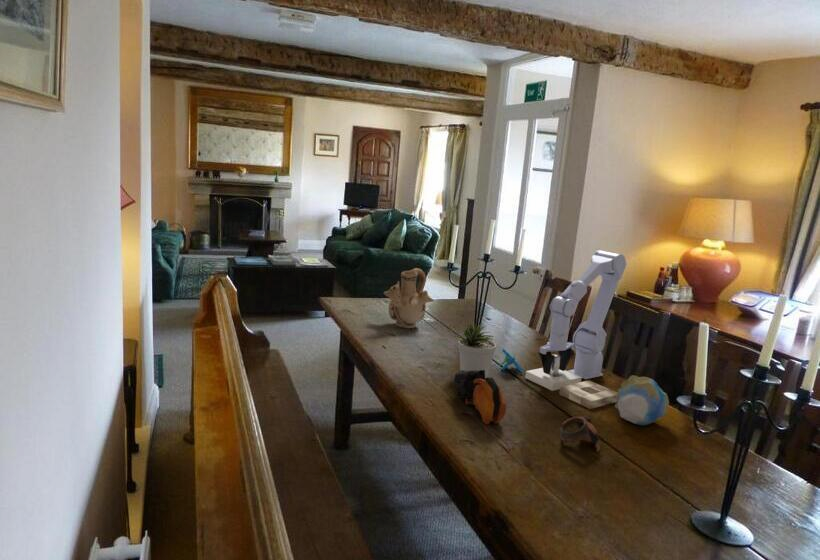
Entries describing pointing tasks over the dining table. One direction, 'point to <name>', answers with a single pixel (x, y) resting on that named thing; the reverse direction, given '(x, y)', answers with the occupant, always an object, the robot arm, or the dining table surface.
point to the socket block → (552, 378)
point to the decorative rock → (641, 400)
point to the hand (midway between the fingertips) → (554, 371)
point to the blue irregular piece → (509, 361)
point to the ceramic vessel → (408, 299)
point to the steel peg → (555, 366)
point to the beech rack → (588, 394)
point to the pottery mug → (580, 431)
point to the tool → (481, 394)
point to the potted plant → (475, 349)
